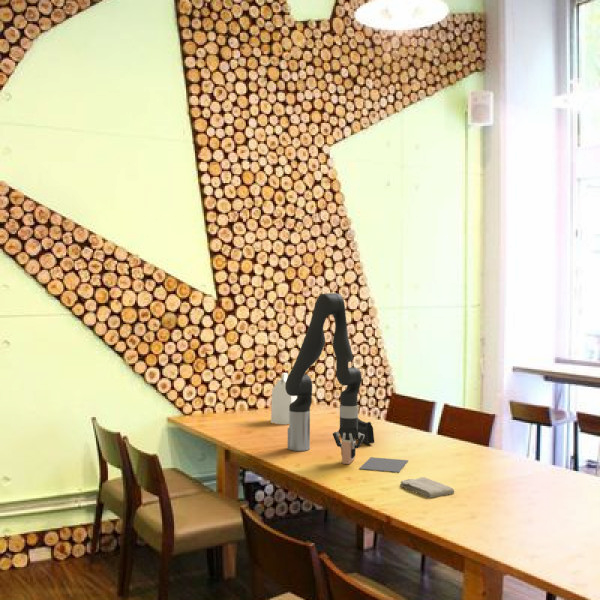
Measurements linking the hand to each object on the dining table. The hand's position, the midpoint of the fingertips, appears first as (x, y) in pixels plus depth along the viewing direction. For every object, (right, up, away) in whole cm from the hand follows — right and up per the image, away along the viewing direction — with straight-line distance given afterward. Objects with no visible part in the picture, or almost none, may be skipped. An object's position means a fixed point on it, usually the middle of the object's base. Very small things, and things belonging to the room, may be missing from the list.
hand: (348, 457), depth 304 cm
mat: (+14, -2, -5) cm, 15 cm away
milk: (-28, 0, +88) cm, 92 cm away
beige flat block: (0, -2, 0) cm, 2 cm away
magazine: (+8, -1, +46) cm, 46 cm away
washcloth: (+25, -4, -40) cm, 48 cm away
